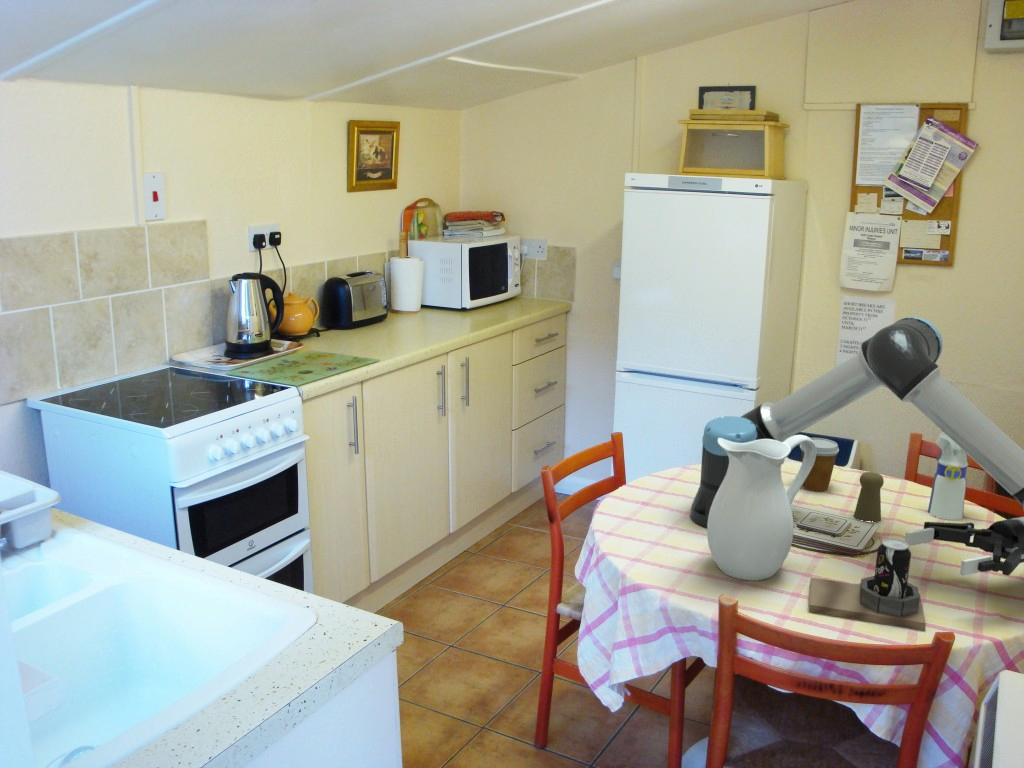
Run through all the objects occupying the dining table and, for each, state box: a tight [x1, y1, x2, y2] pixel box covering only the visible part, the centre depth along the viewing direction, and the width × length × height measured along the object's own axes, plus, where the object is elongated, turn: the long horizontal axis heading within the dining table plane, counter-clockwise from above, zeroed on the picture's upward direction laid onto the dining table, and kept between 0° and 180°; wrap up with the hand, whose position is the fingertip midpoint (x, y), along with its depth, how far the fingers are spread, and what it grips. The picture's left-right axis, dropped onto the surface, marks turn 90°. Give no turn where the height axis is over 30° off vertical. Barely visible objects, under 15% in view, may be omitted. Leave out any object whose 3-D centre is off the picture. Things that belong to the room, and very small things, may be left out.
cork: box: [853, 471, 885, 523], centre depth 214 cm, size 6×6×11 cm
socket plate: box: [808, 575, 927, 631], centre depth 173 cm, size 20×12×4 cm, turn 71°
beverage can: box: [873, 538, 912, 599], centre depth 170 cm, size 6×6×12 cm
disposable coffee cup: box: [799, 437, 840, 492], centre depth 234 cm, size 10×10×12 cm
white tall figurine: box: [927, 432, 970, 521], centre depth 215 cm, size 8×9×25 cm
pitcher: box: [706, 434, 817, 581], centre depth 186 cm, size 24×17×28 cm
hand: (933, 553), depth 173 cm, fingers open, 13 cm apart
